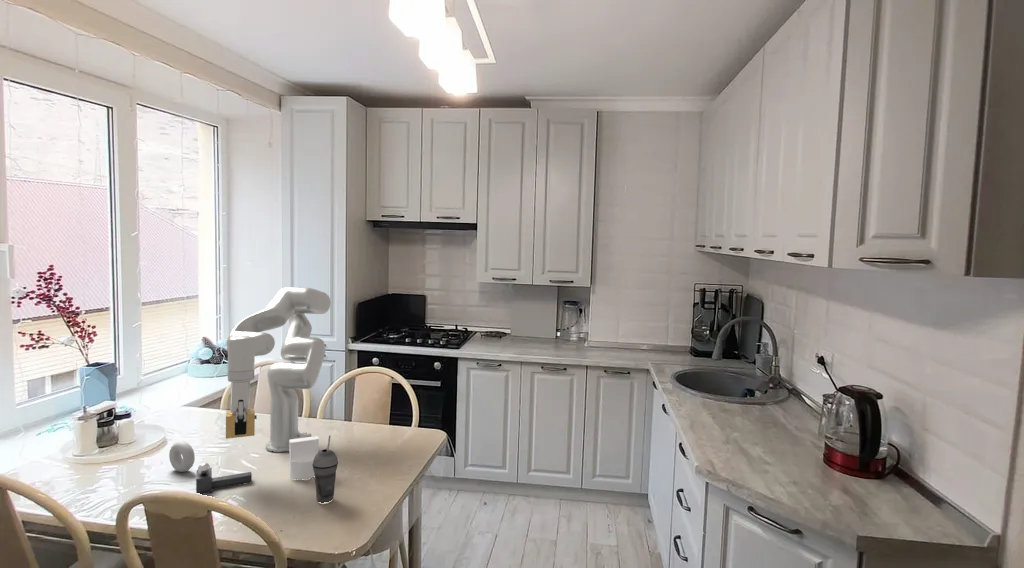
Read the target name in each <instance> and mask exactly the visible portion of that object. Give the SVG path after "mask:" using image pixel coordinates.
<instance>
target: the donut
mask: <svg viewBox="0 0 1024 568" xmlns="http://www.w3.org/2000/svg"><path fill="white" fill-rule="evenodd" d="M168 454H169V455H168V456H169V457H168V458H169V461H170V464H171V466H172V468H173V469H174V470H176V471H177V472H181V473H183V472H187V471H189V470H190V469H192V467H193V466H194V463H195V460H196V458H195V450H194V449H193V447H192V445H191V444H190V443H189V442H187V441H184V440H183V441H182V440H180V441H179V440H178V441H177V442H175V443H173V445H172V446H171V447H170V449H169V453H168Z"/></svg>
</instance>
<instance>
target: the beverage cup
mask: <svg viewBox="0 0 1024 568" xmlns="http://www.w3.org/2000/svg"><path fill="white" fill-rule="evenodd" d="M330 444H331V434H330V435H328V440H327V445H326V446H327V447H326V448H325V449H321V450H320V451H319V452H318V453H317V454H316V456H315V457H314V460H313V465H312V466H313V470H314V475H315V477H314V483H315V485H314V486H315V497H316V502H317V501H318V502H321V503H324V502H329V501H331V500H332V499H333V500H334V496H335V486H336V477H337V476H336V475H337V470H338V469H337V468H338V465H339V459H338V456H337V454H336V452H334V451H333V450H331V449H330Z"/></svg>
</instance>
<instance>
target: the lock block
mask: <svg viewBox="0 0 1024 568" xmlns="http://www.w3.org/2000/svg"><path fill="white" fill-rule="evenodd" d="M255 411H256V410H255V408H248V412H246V434H243V435H235V422H236V412H235V413H233V414H232V413H231V410H226V412H225V439H226V440H228V439H234V438H235V439H236V438H237V439H238V438H244V437H252V436H253V437H254V436H255V435H256V433H255V427H256V426H255V425H256V423H255V420H257V419H258V418H257V414H256V415H255V413H256V412H255ZM237 412H239V410H238V411H237ZM243 412H244V410H243ZM238 415H239V414H238ZM243 415H244V414H243Z"/></svg>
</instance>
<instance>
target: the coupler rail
mask: <svg viewBox="0 0 1024 568" xmlns="http://www.w3.org/2000/svg"><path fill="white" fill-rule="evenodd" d="M212 468H213V467H211V466H210V463H207V462H202V463H200V464H199V465H198V467H197V469H196V474H195V476H196V477H195V486H196V487H195V490H196V493H200V494H202V495H206V494H212V492H213V491H212V490H216V489H223V488H228V487H229V486H230V487H235V486H240V485H239V484H241V485H245V484H244V483H247V484H251V483H250V482H252V478H253V476H252V475H253V474H252V472H251V471H248V472H242V473H241V472H240V473H237V474H229V475H224V476H218V477H213V475H212V474H213V473H212V472H213V470H212ZM234 485H235V486H234ZM230 487H229V488H230Z"/></svg>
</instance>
